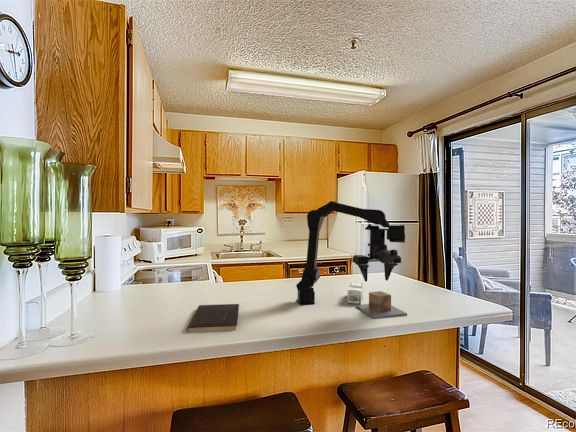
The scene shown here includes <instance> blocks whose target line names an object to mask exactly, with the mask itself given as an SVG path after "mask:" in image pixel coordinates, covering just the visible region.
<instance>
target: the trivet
mask: <svg viewBox="0 0 576 432" xmlns="http://www.w3.org/2000/svg"><path fill="white" fill-rule="evenodd" d="M355 308H357V309H358V310H360V311H361V312H363V313H364V314H366V315H368V316H369V317H371V318H373V319H383V318H384V319H385V318H393V317H403V316H405V317H406V316H408V313H407V312H406V311H403V310H402V309H400V308H398V307H395V306H393V305H392V304H391V310H390V311H381V312H377V311H375V310H373V309H371V308H369V303H366V304H365V303H364V304H355Z"/></svg>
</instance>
